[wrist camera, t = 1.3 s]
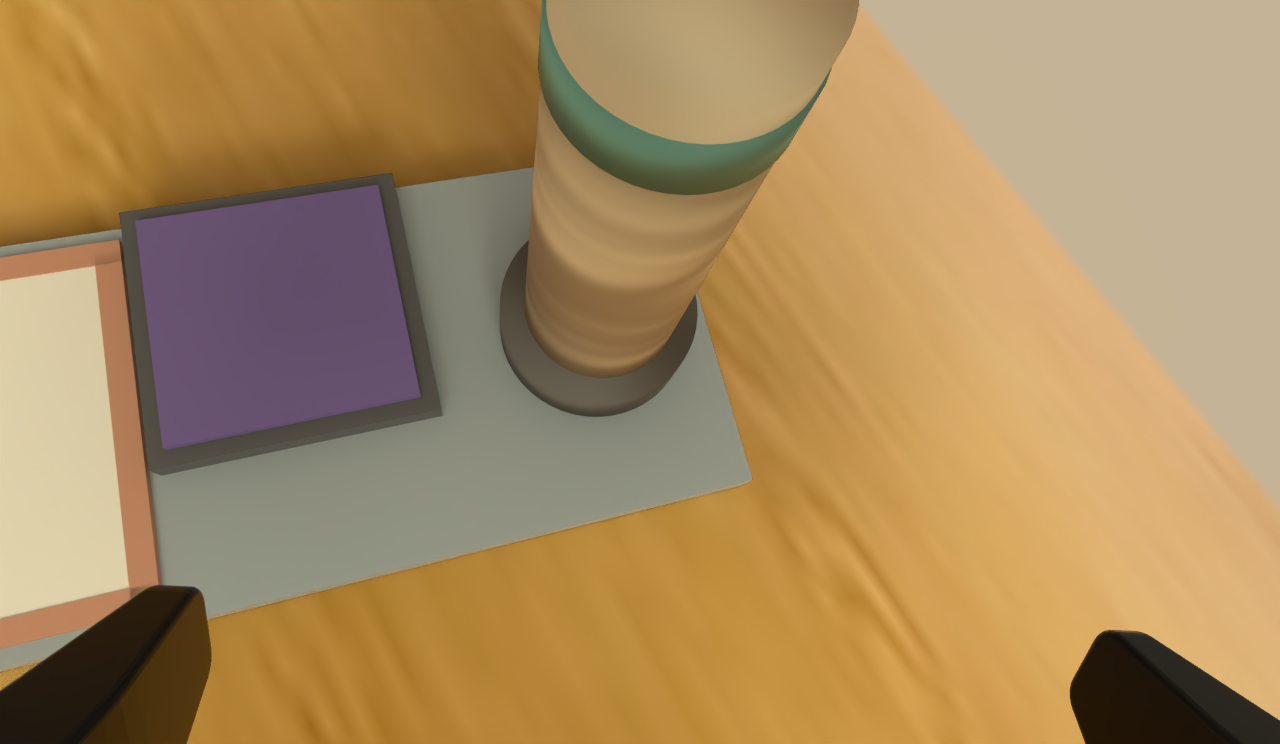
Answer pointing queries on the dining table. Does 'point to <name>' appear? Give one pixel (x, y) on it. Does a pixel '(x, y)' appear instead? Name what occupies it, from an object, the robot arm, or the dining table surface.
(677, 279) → the stamp
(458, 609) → the dining table surface
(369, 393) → the stamp board
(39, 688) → the robot arm
